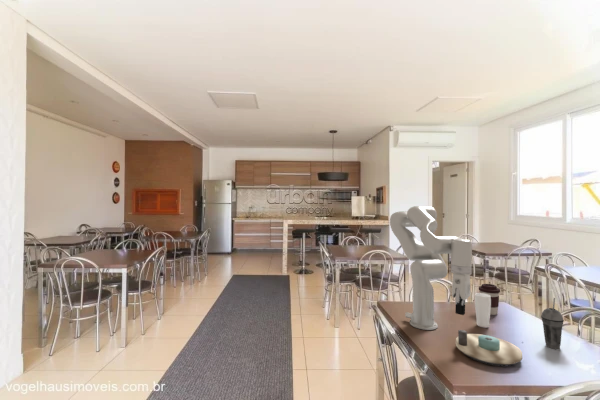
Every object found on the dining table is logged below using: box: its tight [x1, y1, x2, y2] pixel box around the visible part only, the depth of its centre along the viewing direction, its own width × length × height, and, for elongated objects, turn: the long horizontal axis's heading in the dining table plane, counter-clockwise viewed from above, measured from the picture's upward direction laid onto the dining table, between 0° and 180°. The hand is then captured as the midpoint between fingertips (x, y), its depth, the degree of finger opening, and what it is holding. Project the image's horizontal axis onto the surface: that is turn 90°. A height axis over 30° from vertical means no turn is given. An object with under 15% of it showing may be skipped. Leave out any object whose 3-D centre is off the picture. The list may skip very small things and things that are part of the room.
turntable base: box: [463, 353, 516, 367], centre depth 118 cm, size 18×18×2 cm
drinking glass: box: [474, 292, 491, 329], centre depth 146 cm, size 7×7×15 cm
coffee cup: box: [478, 283, 501, 316], centre depth 164 cm, size 10×10×15 cm
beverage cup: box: [540, 297, 564, 350], centre depth 124 cm, size 7×7×20 cm
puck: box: [478, 334, 500, 351], centre depth 117 cm, size 7×7×3 cm
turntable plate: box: [455, 329, 523, 365], centre depth 118 cm, size 22×22×6 cm
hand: (460, 313), depth 123 cm, fingers closed
